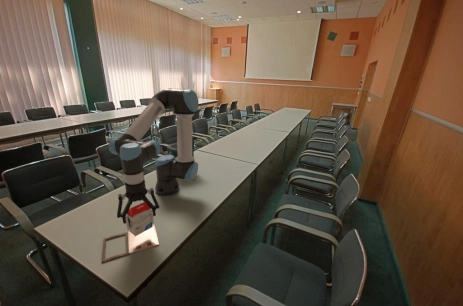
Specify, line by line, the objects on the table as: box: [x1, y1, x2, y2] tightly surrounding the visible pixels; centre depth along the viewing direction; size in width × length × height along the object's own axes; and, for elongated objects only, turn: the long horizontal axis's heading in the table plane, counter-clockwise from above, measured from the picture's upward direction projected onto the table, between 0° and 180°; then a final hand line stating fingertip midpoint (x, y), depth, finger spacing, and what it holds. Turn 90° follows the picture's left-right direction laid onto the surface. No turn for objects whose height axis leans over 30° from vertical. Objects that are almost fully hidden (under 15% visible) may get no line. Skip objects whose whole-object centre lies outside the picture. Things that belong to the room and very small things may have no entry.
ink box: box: [127, 199, 153, 236], centre depth 90 cm, size 8×5×15 cm, turn 141°
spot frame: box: [101, 231, 130, 264], centre depth 90 cm, size 10×14×1 cm
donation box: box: [166, 136, 195, 158], centre depth 159 cm, size 16×16×28 cm
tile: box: [127, 224, 160, 255], centre depth 95 cm, size 12×14×1 cm
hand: (140, 224), depth 92 cm, fingers closed on ink box, 9 cm apart
